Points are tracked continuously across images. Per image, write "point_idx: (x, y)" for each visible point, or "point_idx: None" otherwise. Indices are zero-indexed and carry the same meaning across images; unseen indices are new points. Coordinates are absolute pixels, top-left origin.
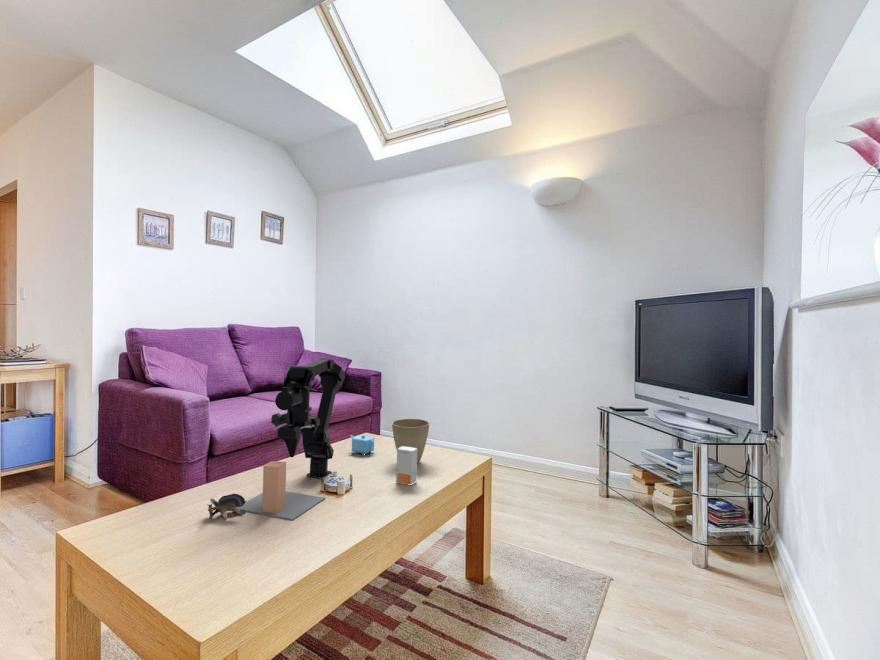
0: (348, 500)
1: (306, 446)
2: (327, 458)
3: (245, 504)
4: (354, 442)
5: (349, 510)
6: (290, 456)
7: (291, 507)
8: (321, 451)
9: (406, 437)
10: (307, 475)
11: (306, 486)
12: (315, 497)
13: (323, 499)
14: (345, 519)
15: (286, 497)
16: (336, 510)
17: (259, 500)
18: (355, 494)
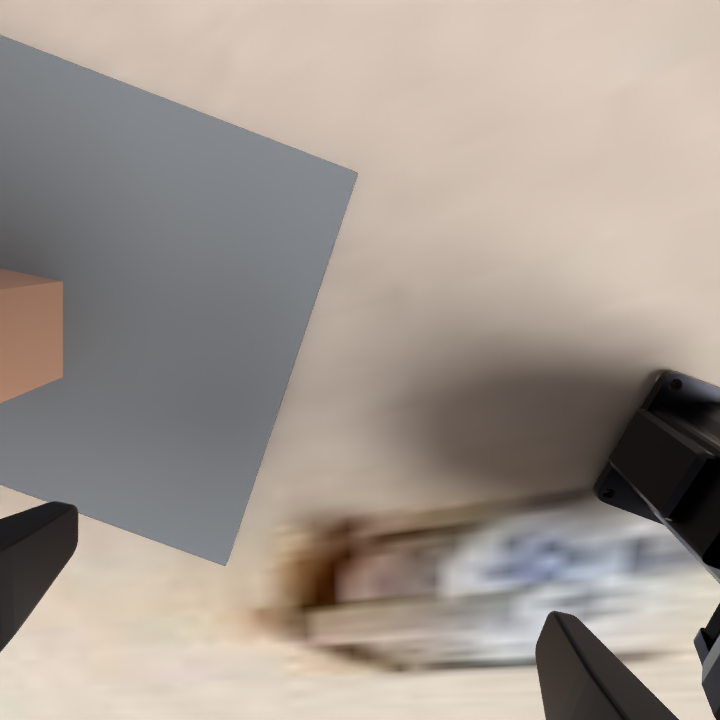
0: (222, 665)
1: (549, 701)
2: (704, 652)
3: (38, 90)
4: None
5: (106, 675)
6: (46, 512)
7: (58, 416)
8: (712, 704)
9: None
10: (658, 384)
11: (432, 418)
12: (221, 515)
13: (208, 556)
14: (13, 666)
15: (198, 345)
16: (95, 625)
17: (121, 170)
18: (306, 691)
